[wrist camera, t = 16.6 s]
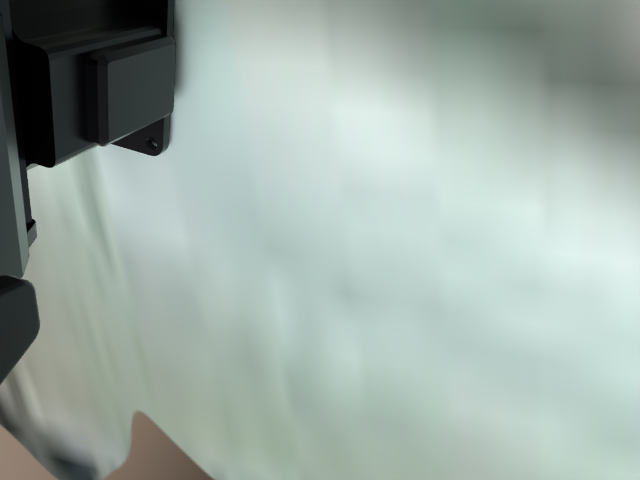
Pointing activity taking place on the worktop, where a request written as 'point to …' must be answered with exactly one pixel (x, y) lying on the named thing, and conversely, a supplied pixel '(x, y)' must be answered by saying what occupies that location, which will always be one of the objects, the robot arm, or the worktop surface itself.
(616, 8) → the worktop surface
